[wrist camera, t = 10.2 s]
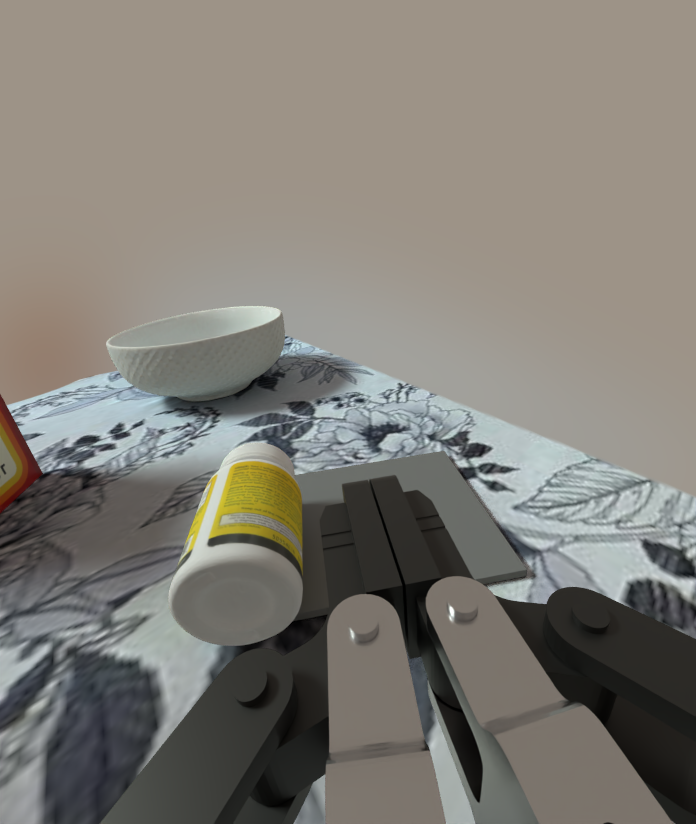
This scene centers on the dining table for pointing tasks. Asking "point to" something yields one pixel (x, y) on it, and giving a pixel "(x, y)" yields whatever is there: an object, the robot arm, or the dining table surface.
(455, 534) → the mat
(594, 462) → the dining table surface
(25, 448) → the baking soda box
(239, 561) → the supplement bottle
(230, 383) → the cereal bowl
